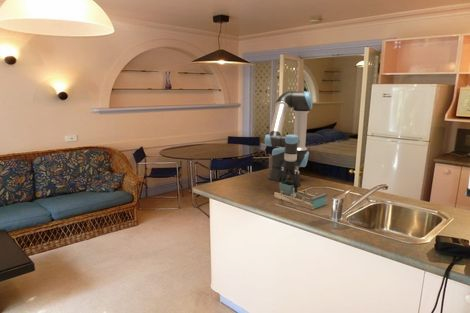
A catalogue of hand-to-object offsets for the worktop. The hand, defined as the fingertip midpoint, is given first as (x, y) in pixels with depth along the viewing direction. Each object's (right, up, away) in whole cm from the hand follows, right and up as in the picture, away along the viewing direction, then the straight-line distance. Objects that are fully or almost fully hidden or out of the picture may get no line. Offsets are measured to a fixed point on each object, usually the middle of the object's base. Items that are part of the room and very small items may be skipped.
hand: (288, 195), depth 209 cm
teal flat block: (+15, -5, -16) cm, 22 cm away
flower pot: (0, -1, 0) cm, 1 cm away
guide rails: (+6, -2, -6) cm, 9 cm away
